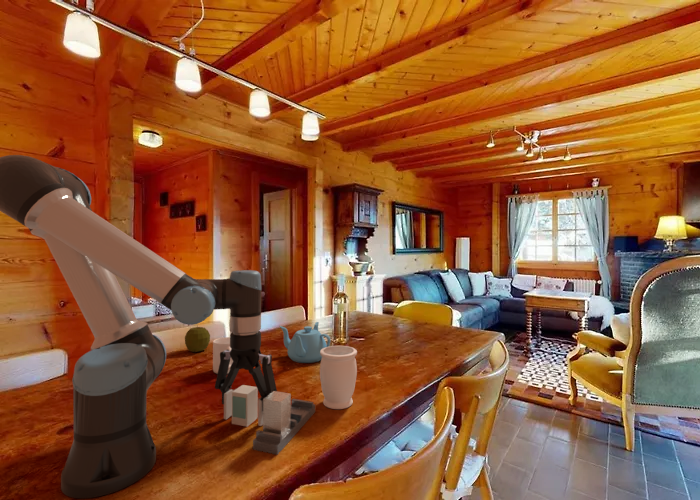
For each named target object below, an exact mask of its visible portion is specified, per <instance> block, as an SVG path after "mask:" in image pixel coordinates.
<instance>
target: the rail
mask: <svg viewBox="0 0 700 500" xmlns="http://www.w3.org/2000/svg"><path fill="white" fill-rule="evenodd" d="M291 397H292V395H291V393H290V392H289V393H288V392H283V391H278V390H277V391H273V392H272V393H270V394H269V395H268V396H266V397H265V398H264V399H263V425H262V430H258V429H257V431H255V432H256V433H255V438H254V439H253V440H252V450H254V451H258V452H262V451H263V453H267V452H268V453H267V454H271V453H272V454H271V455H277V456H278V455H279V454H280V453H281V452H282V450H284V448H285V447H286V446H287V445H288V444H289V442H290V441H291V440H292V439H293V438H294V437H295V436H296V434H297V433H299V431H300V430H301V429H302V428H303V426H304V425H305V424H306V423H307V422H308V421H309V420H310V418H312V417H313V415H314V414H315V413H316V404H314V401H310V400H309V401H308V400H303V399H299V398H291ZM279 452H280V453H279Z"/></svg>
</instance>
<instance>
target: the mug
mask: <svg viewBox="0 0 700 500" xmlns="http://www.w3.org/2000/svg"><path fill="white" fill-rule="evenodd" d="M225 350H229V351H231V348H230V336H228V337H226V336H225V337H220V338H216V339H213V341H212V371H213V373H214V374H216V375H217V374H218V370H219V365H220V353H221V352H223V351H225ZM232 363H233V360H232V358H230V363H229V367H228V372H227V375H228V373H229V371H230V367H231V365H232Z"/></svg>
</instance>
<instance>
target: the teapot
mask: <svg viewBox="0 0 700 500" xmlns="http://www.w3.org/2000/svg"><path fill="white" fill-rule="evenodd" d="M319 323H320V322H319V321H316V322H315V323H314V325H313V327H312V326H309V325H306V326H304V327H303V329H300V330H297V331H296V332H295V333H294V334H293V336H292V338H291V339H290V336H289V332H288V328H286V327H284V326H282V325H279V328H280V329H281V330H282V332H283V345H284V347H285V348H286V349H287V355H288V357H289V358H290V359H291V360H292V361H293V362H295V363H300V364H312V363H318V362H319V361H320V362H321V359H322V356H321V355H320V351H321V349H323V348H325V347H329V346H331V337H330V335H328V333H321V331H319ZM312 328H313V329H312ZM325 338H326V339H327V340H325ZM326 341H327V342H326Z"/></svg>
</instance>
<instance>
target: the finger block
mask: <svg viewBox="0 0 700 500" xmlns="http://www.w3.org/2000/svg"><path fill="white" fill-rule="evenodd" d="M258 394H259V391H258V388H257V386H251V385H245V384H242V385H240V386H238V387H237V388H235V389H233V391H232V416H231V425H236V426H243V427H247V428H248V427H249V426H250V425H251V424H252V423H254V422H255V421H256V420H258V399H259V397H258V396H259V395H258Z"/></svg>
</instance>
